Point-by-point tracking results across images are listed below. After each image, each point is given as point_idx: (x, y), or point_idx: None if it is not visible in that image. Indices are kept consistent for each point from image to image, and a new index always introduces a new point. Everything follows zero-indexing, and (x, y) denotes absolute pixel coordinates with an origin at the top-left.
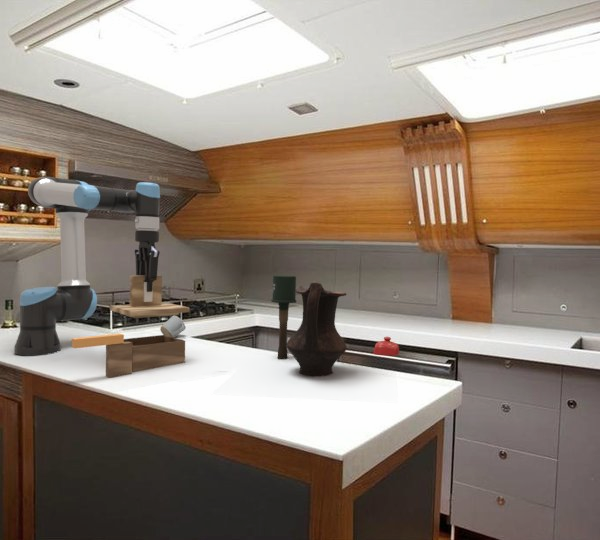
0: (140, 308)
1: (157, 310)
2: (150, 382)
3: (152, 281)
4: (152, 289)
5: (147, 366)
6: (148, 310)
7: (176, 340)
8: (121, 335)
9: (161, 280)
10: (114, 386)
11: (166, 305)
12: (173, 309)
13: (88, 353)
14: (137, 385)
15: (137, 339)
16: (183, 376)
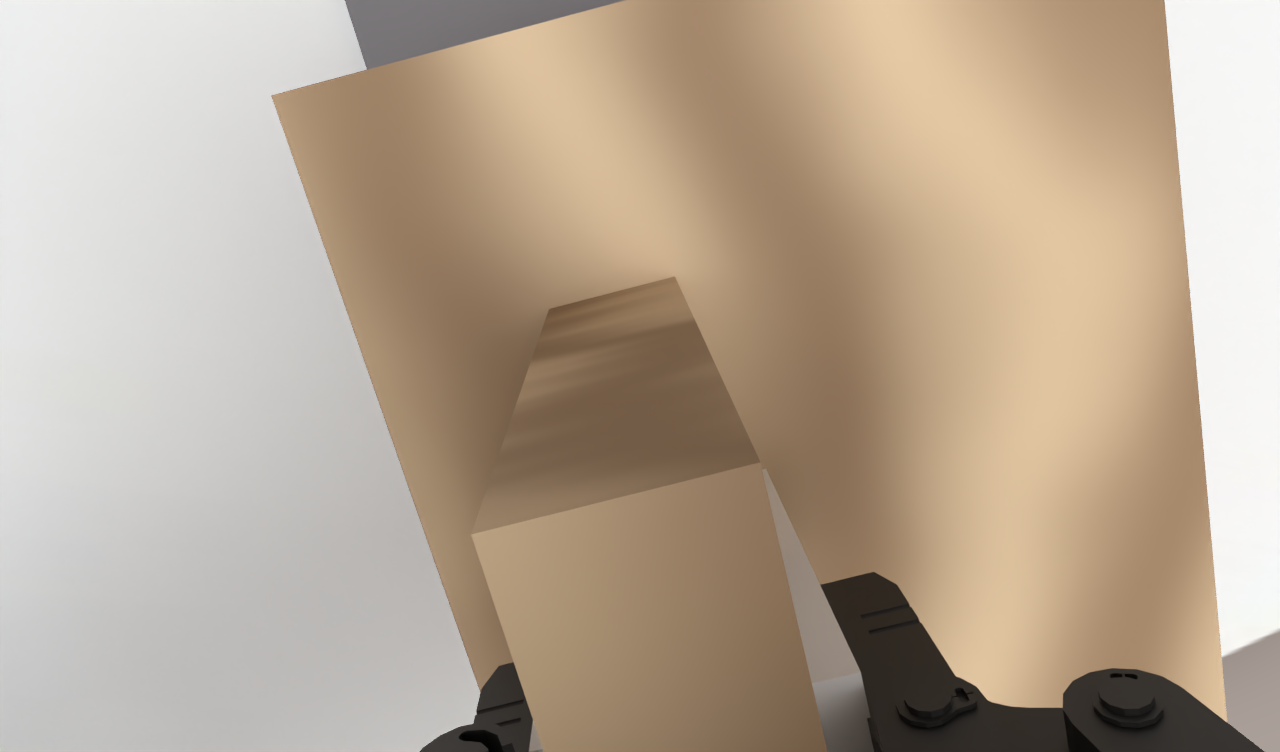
0: (987, 647)
1: (1193, 452)
2: (1231, 407)
3: (1004, 718)
4: (900, 592)
5: None
6: (1212, 581)
7: None
8: None
9: (732, 416)
10: None
11: (737, 201)
12: (1169, 190)
13: (152, 654)
14: (1254, 491)
15: None
16: (1203, 160)
